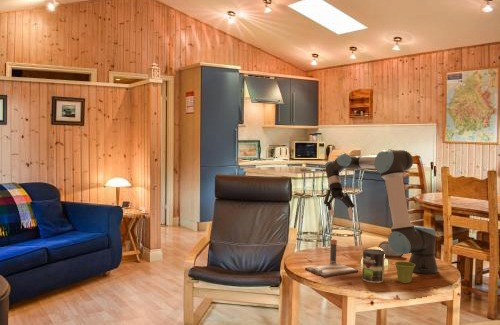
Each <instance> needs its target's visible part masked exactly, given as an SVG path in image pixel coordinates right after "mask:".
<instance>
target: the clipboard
mask: <svg viewBox="0 0 500 325" xmlns="http://www.w3.org/2000/svg"><path fill="white" fill-rule="evenodd" d="M304 270H306V271H308V272H310V273H312V274H314V275H317V276H320V277H323V278H328V277H329V278H330V277H335V276H341V275H343V276H344V275H347V274H355V273H359V269H357V268H353V267H351V266H347V265H345V264H342V263H339V262H336V263H334V264H330V263H329V264H328V263H327V264H322V265H313V266H308V267H304Z"/></svg>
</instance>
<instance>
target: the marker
mask: <svg viewBox="0 0 500 325" xmlns="http://www.w3.org/2000/svg"><path fill="white" fill-rule="evenodd" d="M329 241H330V250H329V252H330V253H329V254H330V257H329V258H330V259H329V264H334V263H337V245H338V244H337V243H338V240H337V239H330V240H329Z"/></svg>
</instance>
